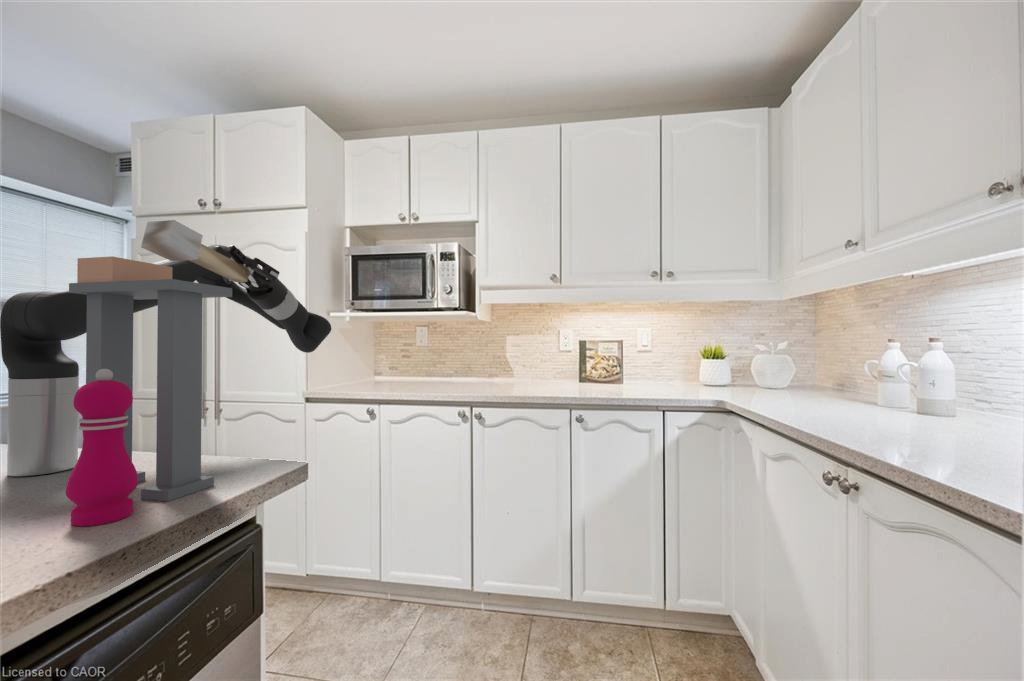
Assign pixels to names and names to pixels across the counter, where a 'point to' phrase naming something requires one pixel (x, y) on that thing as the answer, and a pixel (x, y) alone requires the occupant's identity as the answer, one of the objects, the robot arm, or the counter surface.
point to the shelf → (174, 369)
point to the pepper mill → (102, 454)
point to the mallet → (188, 248)
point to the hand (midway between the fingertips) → (222, 249)
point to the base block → (119, 270)
